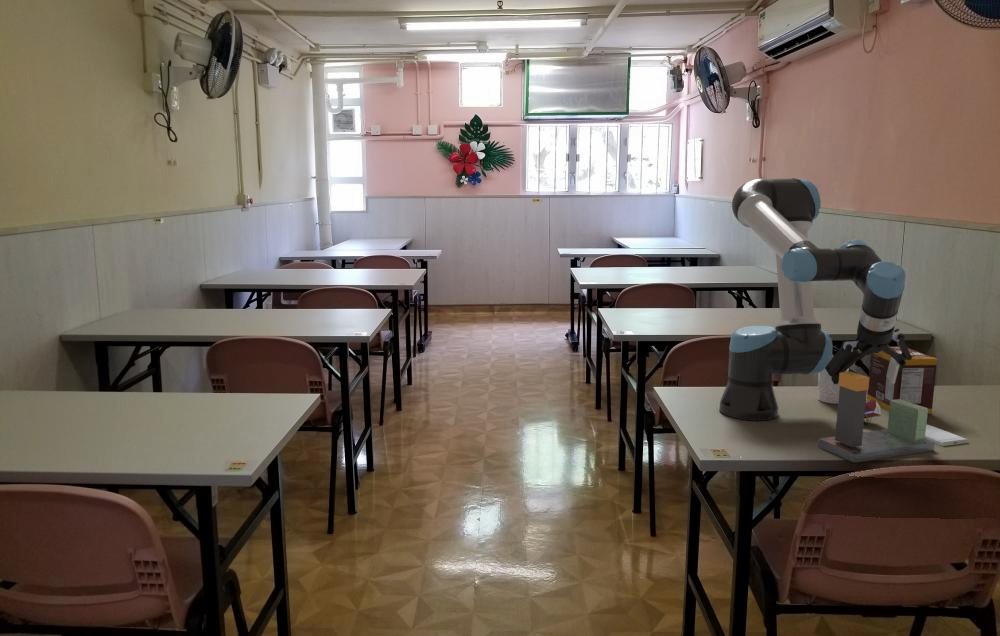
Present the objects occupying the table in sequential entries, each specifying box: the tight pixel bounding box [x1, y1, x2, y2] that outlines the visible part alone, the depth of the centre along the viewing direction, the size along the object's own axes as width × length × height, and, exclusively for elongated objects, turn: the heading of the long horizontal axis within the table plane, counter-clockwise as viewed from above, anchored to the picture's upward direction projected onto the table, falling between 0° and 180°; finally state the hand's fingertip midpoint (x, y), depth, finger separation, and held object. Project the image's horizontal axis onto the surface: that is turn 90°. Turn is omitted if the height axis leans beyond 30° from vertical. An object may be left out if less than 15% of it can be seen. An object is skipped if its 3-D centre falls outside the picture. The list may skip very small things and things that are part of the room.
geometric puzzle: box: [864, 400, 882, 425], centre depth 195 cm, size 7×7×8 cm
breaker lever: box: [834, 371, 870, 447], centre depth 172 cm, size 3×5×16 cm, turn 20°
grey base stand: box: [817, 399, 936, 464], centre depth 176 cm, size 24×11×10 cm, turn 110°
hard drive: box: [925, 423, 969, 447], centre depth 185 cm, size 2×8×12 cm
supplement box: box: [866, 346, 938, 415], centre depth 209 cm, size 10×15×16 cm
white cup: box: [817, 367, 850, 405], centre depth 214 cm, size 8×8×10 cm
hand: (863, 385), depth 186 cm, fingers open, 13 cm apart
